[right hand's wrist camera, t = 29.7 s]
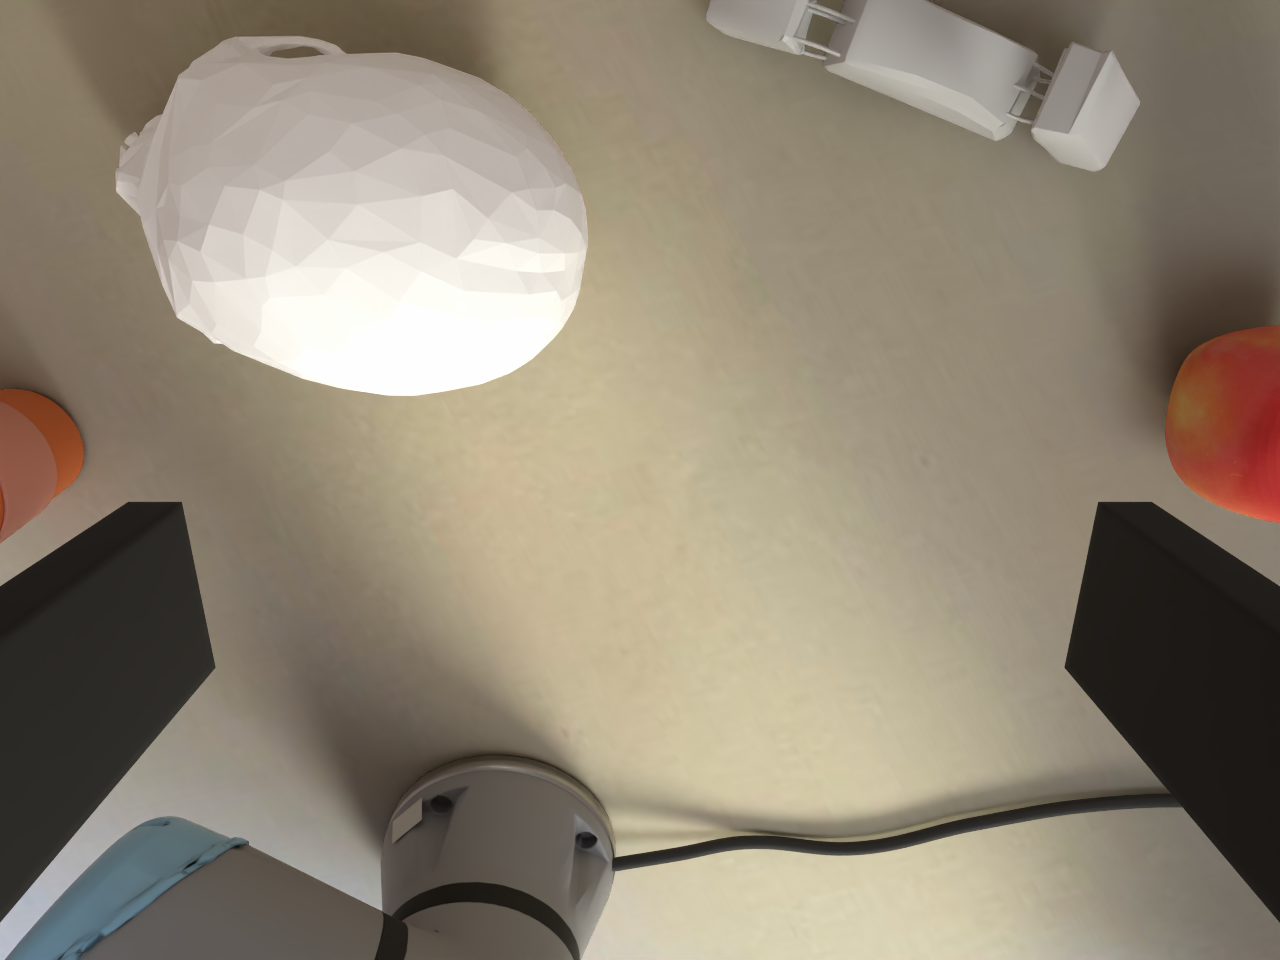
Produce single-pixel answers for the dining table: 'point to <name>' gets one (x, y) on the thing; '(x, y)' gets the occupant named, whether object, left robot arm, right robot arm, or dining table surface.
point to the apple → (1230, 422)
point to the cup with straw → (34, 456)
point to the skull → (357, 216)
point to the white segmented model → (953, 69)
